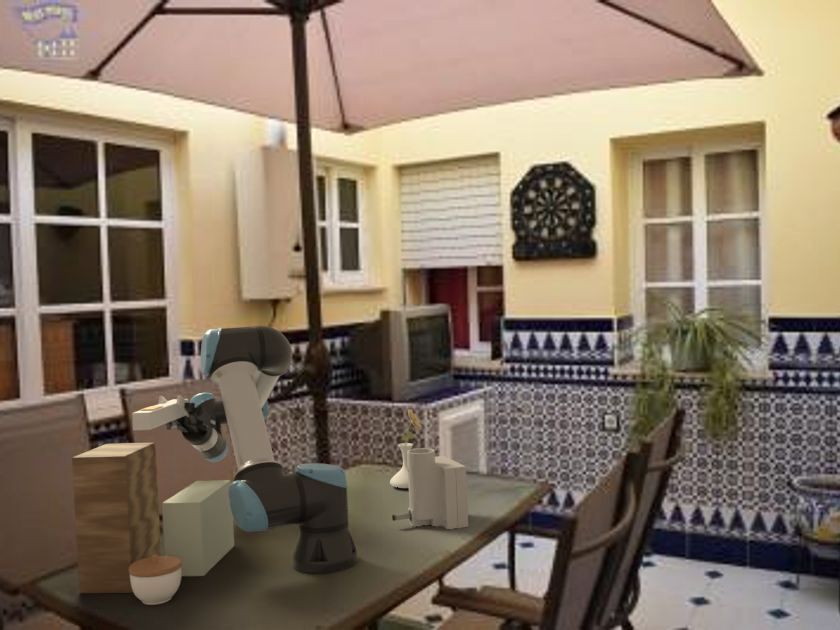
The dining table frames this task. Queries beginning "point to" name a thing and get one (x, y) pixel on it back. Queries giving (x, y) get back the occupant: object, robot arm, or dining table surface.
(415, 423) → the flower in vase
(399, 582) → the dining table surface
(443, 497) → the white tube and box
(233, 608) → the dining table surface
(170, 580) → the lidded jar
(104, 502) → the walnut stand
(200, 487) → the upright ivory cuboid
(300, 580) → the dining table surface
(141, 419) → the white bar
